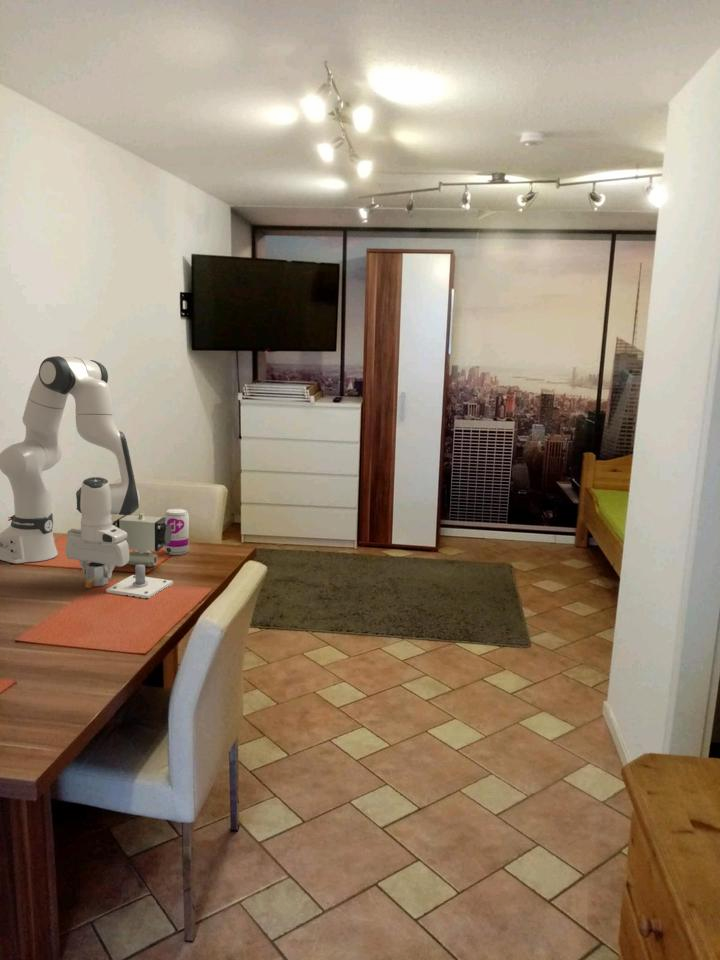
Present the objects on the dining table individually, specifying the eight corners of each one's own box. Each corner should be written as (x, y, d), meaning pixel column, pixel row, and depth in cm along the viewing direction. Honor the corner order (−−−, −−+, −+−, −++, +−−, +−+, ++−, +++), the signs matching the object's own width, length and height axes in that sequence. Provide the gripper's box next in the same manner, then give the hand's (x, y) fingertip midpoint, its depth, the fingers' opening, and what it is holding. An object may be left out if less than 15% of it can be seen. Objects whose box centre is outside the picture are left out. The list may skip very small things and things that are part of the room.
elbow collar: (94, 578, 226) (94, 559, 224) (111, 581, 224) (111, 562, 223) (78, 586, 218) (78, 567, 217) (96, 589, 217) (95, 569, 215)
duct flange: (106, 592, 215) (105, 569, 213) (132, 577, 228) (132, 556, 227) (148, 599, 211) (148, 576, 210) (173, 583, 225) (173, 562, 223)
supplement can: (185, 556, 252) (185, 514, 249) (161, 555, 252) (161, 513, 249) (191, 549, 260) (191, 508, 257) (168, 548, 260) (168, 507, 257)
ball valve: (173, 563, 244) (173, 511, 240) (164, 571, 235) (164, 518, 232) (121, 559, 245) (120, 507, 242) (110, 566, 237) (109, 514, 234)
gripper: (60, 530, 219) (61, 574, 221) (119, 538, 213) (120, 583, 216) (73, 525, 225) (74, 568, 227) (132, 533, 219) (132, 577, 222)
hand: (97, 575), depth 222 cm, fingers closed on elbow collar, 6 cm apart
